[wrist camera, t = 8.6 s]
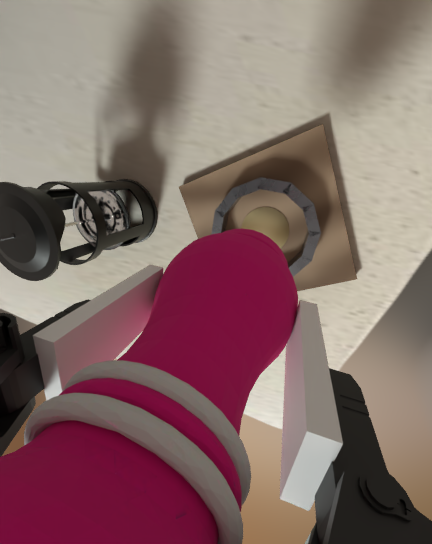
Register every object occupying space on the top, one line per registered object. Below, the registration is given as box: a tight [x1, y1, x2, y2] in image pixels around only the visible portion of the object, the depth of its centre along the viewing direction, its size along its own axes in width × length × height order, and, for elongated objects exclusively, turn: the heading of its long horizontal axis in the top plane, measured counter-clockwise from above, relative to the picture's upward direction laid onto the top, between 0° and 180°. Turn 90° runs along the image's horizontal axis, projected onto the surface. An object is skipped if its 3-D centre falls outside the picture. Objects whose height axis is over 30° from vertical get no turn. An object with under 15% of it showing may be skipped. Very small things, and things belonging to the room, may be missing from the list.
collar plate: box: [179, 124, 357, 291], centre depth 31 cm, size 18×18×1 cm
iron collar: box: [211, 177, 321, 277], centre depth 30 cm, size 12×12×2 cm
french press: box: [0, 179, 157, 281], centre depth 27 cm, size 12×9×23 cm
